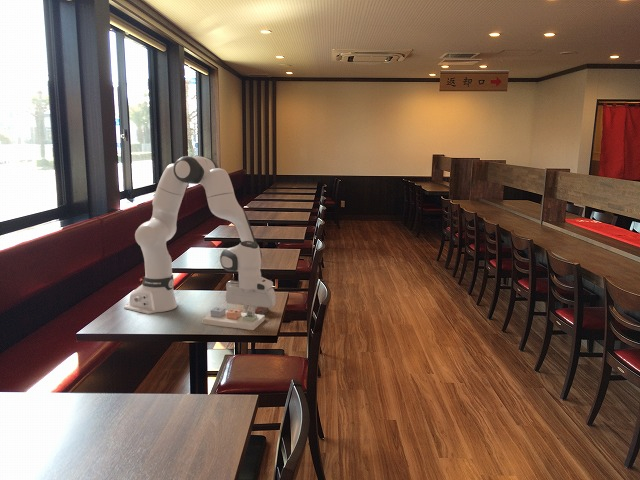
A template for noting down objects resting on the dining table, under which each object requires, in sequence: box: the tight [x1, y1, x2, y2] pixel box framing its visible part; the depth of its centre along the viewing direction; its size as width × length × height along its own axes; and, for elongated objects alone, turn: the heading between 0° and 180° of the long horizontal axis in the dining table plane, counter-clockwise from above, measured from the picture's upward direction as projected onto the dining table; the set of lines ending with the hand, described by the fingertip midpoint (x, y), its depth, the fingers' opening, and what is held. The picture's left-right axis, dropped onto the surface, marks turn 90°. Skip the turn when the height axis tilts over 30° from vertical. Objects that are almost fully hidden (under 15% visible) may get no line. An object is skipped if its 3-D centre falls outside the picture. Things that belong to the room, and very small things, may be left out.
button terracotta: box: [226, 308, 242, 320], centre depth 206 cm, size 4×4×3 cm
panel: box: [201, 310, 266, 331], centre depth 207 cm, size 22×12×2 cm, turn 74°
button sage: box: [243, 314, 257, 322], centre depth 205 cm, size 4×4×3 cm
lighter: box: [255, 306, 270, 315], centre depth 218 cm, size 8×3×10 cm, turn 143°
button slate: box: [210, 306, 227, 318], centre depth 208 cm, size 4×4×3 cm
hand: (250, 315), depth 205 cm, fingers closed
